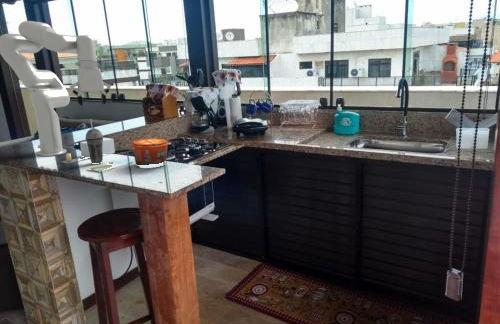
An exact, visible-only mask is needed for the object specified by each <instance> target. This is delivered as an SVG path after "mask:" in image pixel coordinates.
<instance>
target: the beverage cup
mask: <svg viewBox="0 0 500 324" xmlns="http://www.w3.org/2000/svg"><path fill="white" fill-rule="evenodd" d="M89 123H90V126H91V127H90V129H89V130H87V132H86V134H85V141H86V142H87V144H88V149H89V154H90V162H92V163H100V162H102V163H103V156H104V155H103V151H102V142H103V138H104V135H103V133H102V132H101V131H100V130H99V129H97V128H94V126H93V121H92V118H90V119H89ZM92 163H91V164H92Z"/></svg>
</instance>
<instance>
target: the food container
mask: <svg viewBox="0 0 500 324" xmlns="http://www.w3.org/2000/svg"><path fill="white" fill-rule="evenodd" d="M169 145H170V142H169V141H168V140H167V139H164V138H156V137H155V138H154V137H152V138H140V139H136V140H133V141H132V142H131V144H130V146H131V148H132V152H133V157H134V162H135V165H136V164H137V165H149V164H159V163H162V162H164V161H166V162H167V159H168V158H167V156H168V146H169Z"/></svg>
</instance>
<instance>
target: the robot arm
mask: <svg viewBox="0 0 500 324" xmlns="http://www.w3.org/2000/svg"><path fill="white" fill-rule="evenodd" d="M43 48H45V49H47V50H49V51H52V52H55V53H59V54H73V55H76V54H77V60H78V61H77V62H75V63H74V66H77V67H78V68H77V76H76V79H77V82H75V83H72V84H71V85H69V89H70V91H71V92H72V94H74V95H75V96H76V98H77V104H79V106H84V105H83V104H84V102H83V96H82V94H83V93H85V92H87V93H88V92H90V93H91V92H100V93H101V95H100V96H101V97H100V98H101V104H102V105H106V102H107V94H108V93H109V92H110V90H111V87H112V85H111V84H109V83H107V82H105V81H103V76H102V72H101V69H100V68H99V66H98V59H97V57H98V56H97V47H96V40H95V37H94V36H92V35H85V34H84V35H83V34H82V35H67V34H59V33H57V32H56V30H55V29H54V28H53V27H51V25H49V24H48V23H45V22H42V21H41V22H40V21H33V20H25V21H21V23H19V25H18V33H4V34H3V35H0V56H1V57H2V58H3V60H4V61H5V62H6V63H7V64H8V65H9V66H10V68H11V69H12V71H14V73H15V75H16V76H17V77H18V79H19V80H20V81H21V82H22V85H23V86H24V87H25V88H26V89H27V90H29V91H33V92H32V93H31V94H30V100H31V104H32V106H33V109H34V112H35V113H34V114H35V120H36V125H37V131H38V138H39V145H37V148H38V149H39V151H38V152H37V155H38V156H41V157H53V156H59V155H60V156H61V155H64V154H67V149H66V148H63V142H62V141H63V140H62V133H61V126H60V125H61V124H60V118H59V115H58V113H57V112H56V111H55V109H56V108H64V107H66V106H68V105H69V104H70V101H71V97H70V94H69V92H68V90H67V89H66V87H65V86H64V84H63V83H62V82H61V80H60V78H59V77H58V76H57V74H55V73H54V72H53V71H51V70H48V69H37V68H36V67H35V66H34V65H33V63H32V61H31V60H30V59H28V58H27V57H26V56H24V55H23V54H37V53H39V52H40V51H41V50H42V49H43ZM76 87H77V89H78V90H76V89H75V88H76ZM105 87H106V89H105Z"/></svg>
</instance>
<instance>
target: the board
mask: <svg viewBox="0 0 500 324" xmlns="http://www.w3.org/2000/svg"><path fill="white" fill-rule="evenodd" d="M113 161H114V160H112V161H108V163H109V164H113ZM106 164H107V162H103V163H102V164H96V165H93V166H90V167H87V168H86V170H87V169H91V170H97V171H102V170H104V169H107V168H110V167H112V165H106Z"/></svg>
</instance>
